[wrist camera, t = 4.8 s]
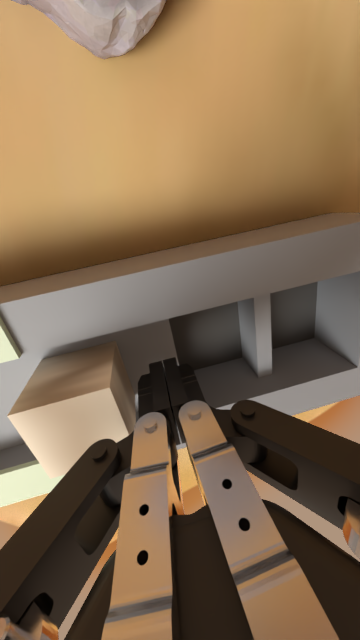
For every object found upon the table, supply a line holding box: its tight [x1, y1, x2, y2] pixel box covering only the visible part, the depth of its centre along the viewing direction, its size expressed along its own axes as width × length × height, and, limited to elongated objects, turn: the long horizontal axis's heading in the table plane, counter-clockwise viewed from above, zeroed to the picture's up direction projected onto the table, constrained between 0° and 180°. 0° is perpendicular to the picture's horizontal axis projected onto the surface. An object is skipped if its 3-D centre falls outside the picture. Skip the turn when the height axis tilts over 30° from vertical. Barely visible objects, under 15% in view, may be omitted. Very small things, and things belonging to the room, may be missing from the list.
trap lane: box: [0, 213, 360, 507], centre depth 15 cm, size 26×12×5 cm, turn 101°
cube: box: [7, 341, 136, 479], centre depth 12 cm, size 4×4×4 cm
